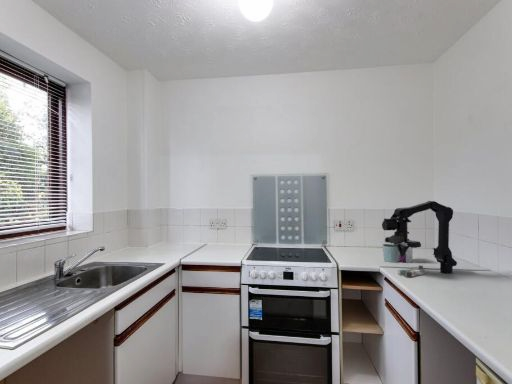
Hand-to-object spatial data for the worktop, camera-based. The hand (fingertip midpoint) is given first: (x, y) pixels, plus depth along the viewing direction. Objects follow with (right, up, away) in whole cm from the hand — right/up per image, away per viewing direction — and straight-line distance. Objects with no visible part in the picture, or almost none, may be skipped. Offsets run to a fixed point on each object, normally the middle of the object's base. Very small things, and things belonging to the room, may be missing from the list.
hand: (402, 256), depth 145 cm
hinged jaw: (+3, -9, -2) cm, 10 cm away
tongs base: (+4, -11, -1) cm, 11 cm away
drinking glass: (+7, -11, +25) cm, 28 cm away
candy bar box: (+17, -11, +27) cm, 34 cm away
